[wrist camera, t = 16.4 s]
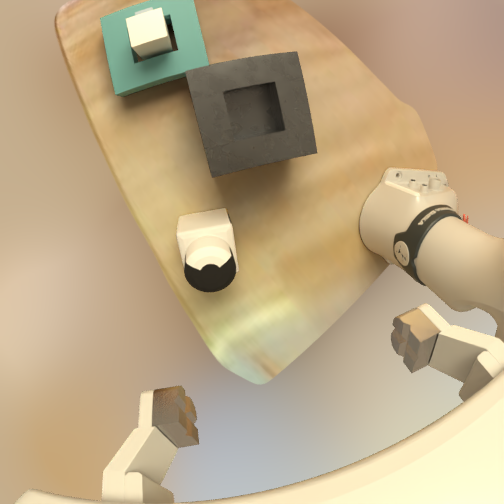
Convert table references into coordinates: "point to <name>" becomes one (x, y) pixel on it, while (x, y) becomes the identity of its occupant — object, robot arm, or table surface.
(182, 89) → the table surface
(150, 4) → the block
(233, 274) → the medicine bottle
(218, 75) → the dark grey square frame
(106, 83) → the table surface
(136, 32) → the plug
